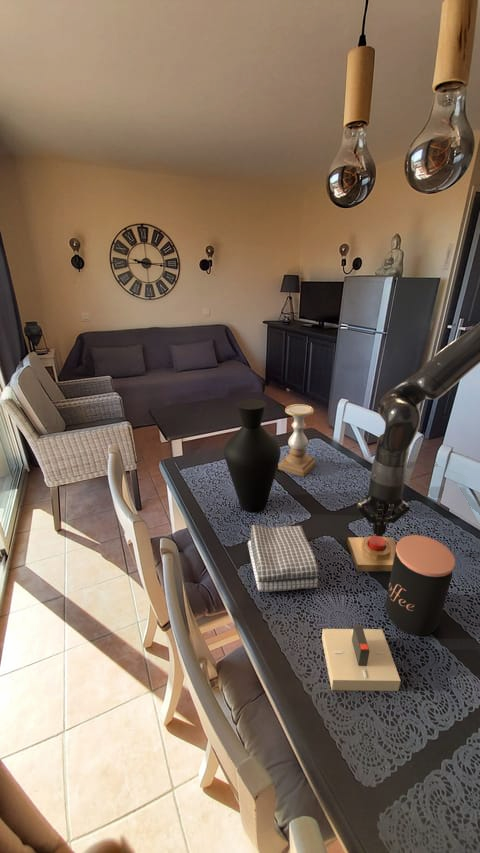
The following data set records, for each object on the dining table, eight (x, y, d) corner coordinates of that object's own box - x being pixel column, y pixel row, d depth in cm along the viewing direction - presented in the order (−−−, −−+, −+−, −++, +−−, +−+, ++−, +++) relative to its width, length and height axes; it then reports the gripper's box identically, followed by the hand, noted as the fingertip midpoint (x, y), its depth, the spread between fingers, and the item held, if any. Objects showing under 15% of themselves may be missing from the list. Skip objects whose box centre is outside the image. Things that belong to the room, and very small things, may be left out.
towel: (257, 598, 84) (257, 573, 81) (247, 543, 101) (246, 521, 98) (320, 590, 86) (322, 566, 83) (299, 538, 102) (301, 515, 99)
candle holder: (277, 469, 137) (278, 410, 128) (290, 457, 146) (292, 401, 136) (303, 477, 132) (306, 416, 122) (316, 464, 140) (319, 406, 130)
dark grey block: (351, 640, 71) (353, 624, 69) (359, 640, 71) (362, 625, 69) (358, 665, 67) (360, 650, 65) (367, 666, 67) (369, 650, 65)
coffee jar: (377, 595, 84) (388, 534, 77) (424, 595, 84) (439, 534, 76) (394, 638, 74) (408, 573, 67) (447, 639, 74) (467, 574, 67)
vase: (240, 528, 107) (235, 419, 93) (219, 497, 121) (212, 400, 107) (289, 512, 113) (293, 408, 99) (264, 485, 128) (264, 391, 113)
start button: (381, 540, 95) (382, 535, 95) (386, 551, 92) (387, 546, 91) (366, 540, 96) (367, 535, 95) (371, 551, 92) (371, 546, 91)
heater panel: (380, 638, 74) (382, 628, 73) (398, 691, 65) (400, 680, 64) (321, 638, 75) (322, 628, 74) (331, 690, 66) (332, 679, 64)
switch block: (391, 543, 100) (393, 531, 98) (405, 571, 90) (407, 559, 89) (347, 543, 100) (348, 532, 98) (356, 571, 91) (358, 559, 89)
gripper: (409, 468, 88) (398, 524, 95) (355, 468, 89) (348, 524, 96) (423, 485, 81) (410, 544, 89) (363, 485, 82) (355, 544, 89)
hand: (378, 534), depth 92 cm, fingers closed
